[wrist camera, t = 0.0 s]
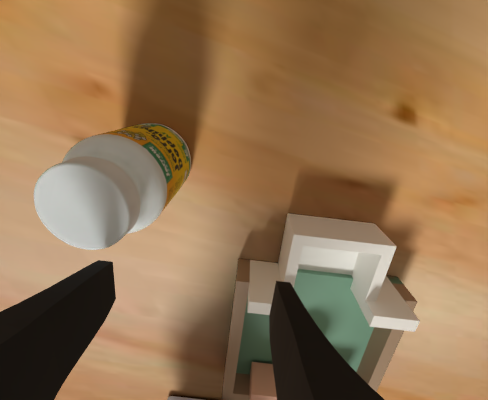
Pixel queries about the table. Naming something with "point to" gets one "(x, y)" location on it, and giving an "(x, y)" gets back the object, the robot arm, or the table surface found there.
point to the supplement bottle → (112, 185)
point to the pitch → (323, 298)
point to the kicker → (262, 382)
